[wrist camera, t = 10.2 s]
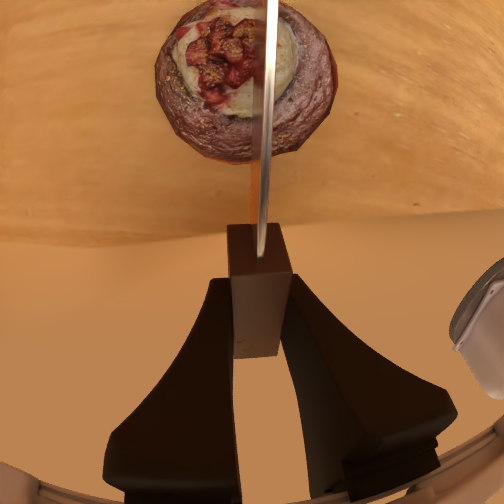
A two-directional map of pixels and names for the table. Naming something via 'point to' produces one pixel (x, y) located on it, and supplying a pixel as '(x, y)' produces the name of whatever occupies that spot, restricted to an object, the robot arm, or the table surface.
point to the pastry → (242, 79)
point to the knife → (259, 217)
